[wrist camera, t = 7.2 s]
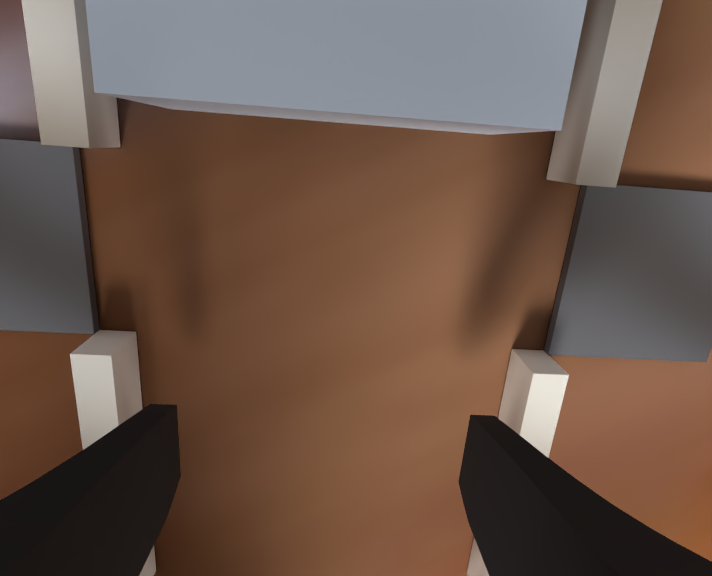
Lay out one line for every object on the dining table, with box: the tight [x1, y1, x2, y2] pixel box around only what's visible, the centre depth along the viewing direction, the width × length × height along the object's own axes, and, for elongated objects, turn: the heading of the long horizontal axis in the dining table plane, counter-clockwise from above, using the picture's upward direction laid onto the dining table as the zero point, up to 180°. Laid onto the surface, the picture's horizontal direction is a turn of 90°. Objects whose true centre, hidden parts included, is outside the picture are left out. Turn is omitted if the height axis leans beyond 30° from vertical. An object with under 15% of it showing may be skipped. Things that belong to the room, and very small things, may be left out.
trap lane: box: [0, 0, 712, 576], centre depth 11 cm, size 24×23×3 cm
